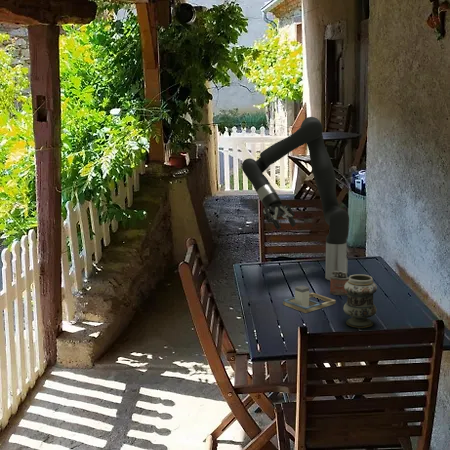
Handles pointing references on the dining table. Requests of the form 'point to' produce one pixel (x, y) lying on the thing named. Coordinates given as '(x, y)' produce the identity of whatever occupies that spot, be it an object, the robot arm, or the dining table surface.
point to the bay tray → (313, 304)
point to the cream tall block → (302, 296)
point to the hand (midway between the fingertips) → (287, 227)
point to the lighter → (338, 283)
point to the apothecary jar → (360, 300)
